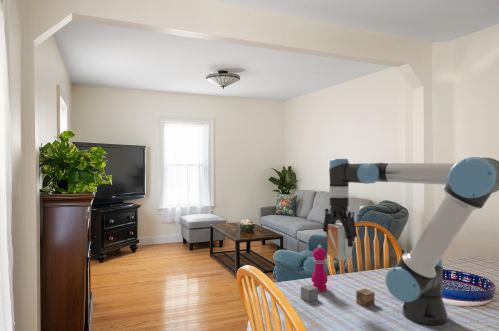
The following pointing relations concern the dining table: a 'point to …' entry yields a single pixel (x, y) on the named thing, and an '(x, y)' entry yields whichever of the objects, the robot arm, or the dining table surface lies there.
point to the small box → (337, 241)
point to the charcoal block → (309, 293)
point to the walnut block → (365, 297)
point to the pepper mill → (319, 269)
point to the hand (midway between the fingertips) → (339, 251)
